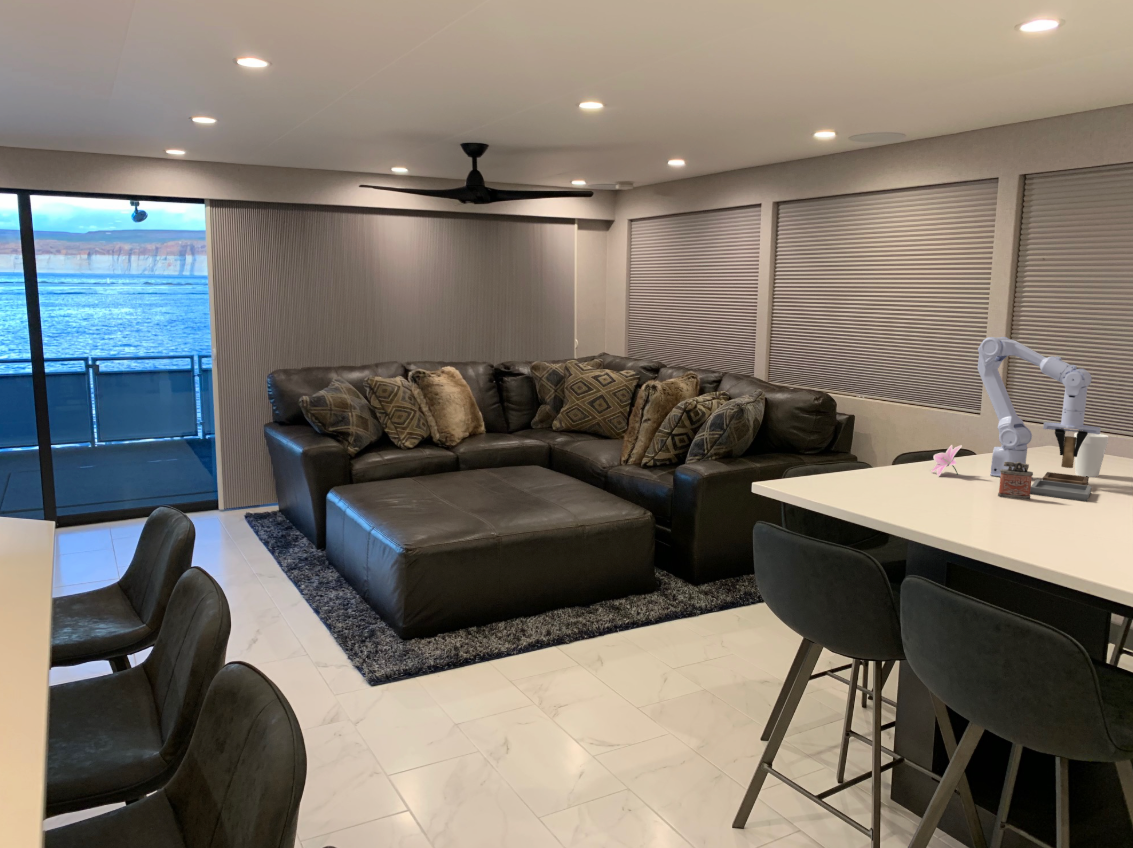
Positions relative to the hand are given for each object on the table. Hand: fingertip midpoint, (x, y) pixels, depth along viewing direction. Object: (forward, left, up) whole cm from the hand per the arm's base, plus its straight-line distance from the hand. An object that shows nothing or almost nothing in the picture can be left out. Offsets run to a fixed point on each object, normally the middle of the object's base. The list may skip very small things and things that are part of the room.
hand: (1068, 455), depth 255 cm
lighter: (-10, -29, -9) cm, 32 cm away
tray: (0, -14, -9) cm, 17 cm away
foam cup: (+4, +24, -9) cm, 26 cm away
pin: (0, 0, -3) cm, 3 cm away
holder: (0, 0, -9) cm, 9 cm away
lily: (-32, -8, -9) cm, 34 cm away
